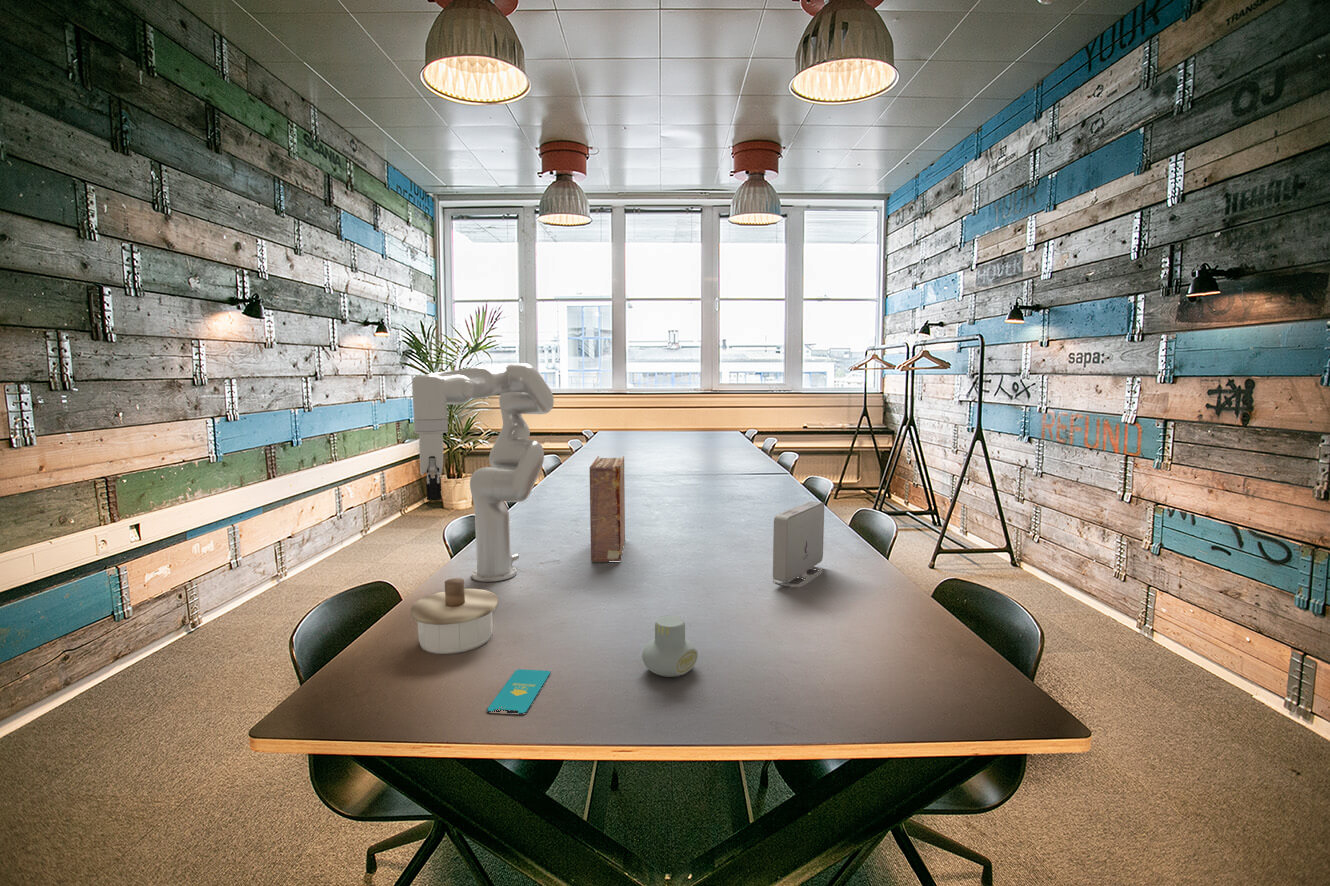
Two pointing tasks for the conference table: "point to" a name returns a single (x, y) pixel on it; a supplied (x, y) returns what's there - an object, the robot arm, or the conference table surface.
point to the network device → (798, 543)
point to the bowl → (455, 635)
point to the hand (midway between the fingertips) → (434, 496)
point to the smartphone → (519, 691)
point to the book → (607, 509)
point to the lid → (454, 604)
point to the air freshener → (669, 649)
